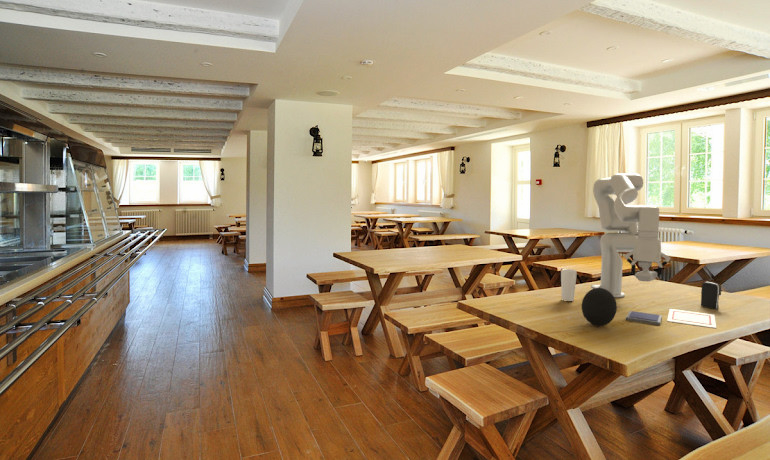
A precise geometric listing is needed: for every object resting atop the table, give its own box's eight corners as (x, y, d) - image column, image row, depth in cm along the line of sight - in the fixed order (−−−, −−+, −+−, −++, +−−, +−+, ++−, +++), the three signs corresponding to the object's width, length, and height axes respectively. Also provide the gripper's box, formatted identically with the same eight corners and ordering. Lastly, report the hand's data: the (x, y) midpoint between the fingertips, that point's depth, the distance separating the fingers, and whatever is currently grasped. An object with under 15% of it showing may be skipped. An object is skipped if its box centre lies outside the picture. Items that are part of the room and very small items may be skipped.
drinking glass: (557, 299, 216) (558, 268, 215) (570, 298, 217) (572, 268, 215) (564, 302, 210) (565, 271, 208) (578, 302, 210) (579, 271, 209)
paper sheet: (667, 321, 180) (667, 320, 180) (669, 309, 198) (669, 308, 198) (716, 328, 171) (716, 327, 171) (714, 315, 189) (714, 314, 189)
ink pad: (625, 320, 181) (625, 316, 181) (629, 313, 191) (629, 310, 191) (660, 325, 175) (660, 321, 174) (661, 318, 184) (662, 314, 184)
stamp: (661, 280, 189) (659, 260, 189) (654, 282, 185) (653, 262, 185) (638, 279, 196) (637, 260, 196) (631, 281, 192) (630, 262, 192)
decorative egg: (582, 319, 183) (584, 283, 182) (616, 323, 177) (618, 286, 175) (579, 327, 172) (580, 289, 171) (614, 332, 166) (616, 293, 165)
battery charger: (721, 308, 199) (723, 283, 198) (715, 309, 198) (717, 284, 197) (705, 304, 206) (707, 280, 204) (699, 305, 204) (701, 281, 203)
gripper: (623, 234, 191) (622, 274, 192) (671, 236, 181) (669, 278, 182) (625, 233, 197) (624, 272, 198) (672, 235, 187) (670, 276, 188)
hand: (646, 275), depth 190 cm, fingers closed on stamp, 8 cm apart
